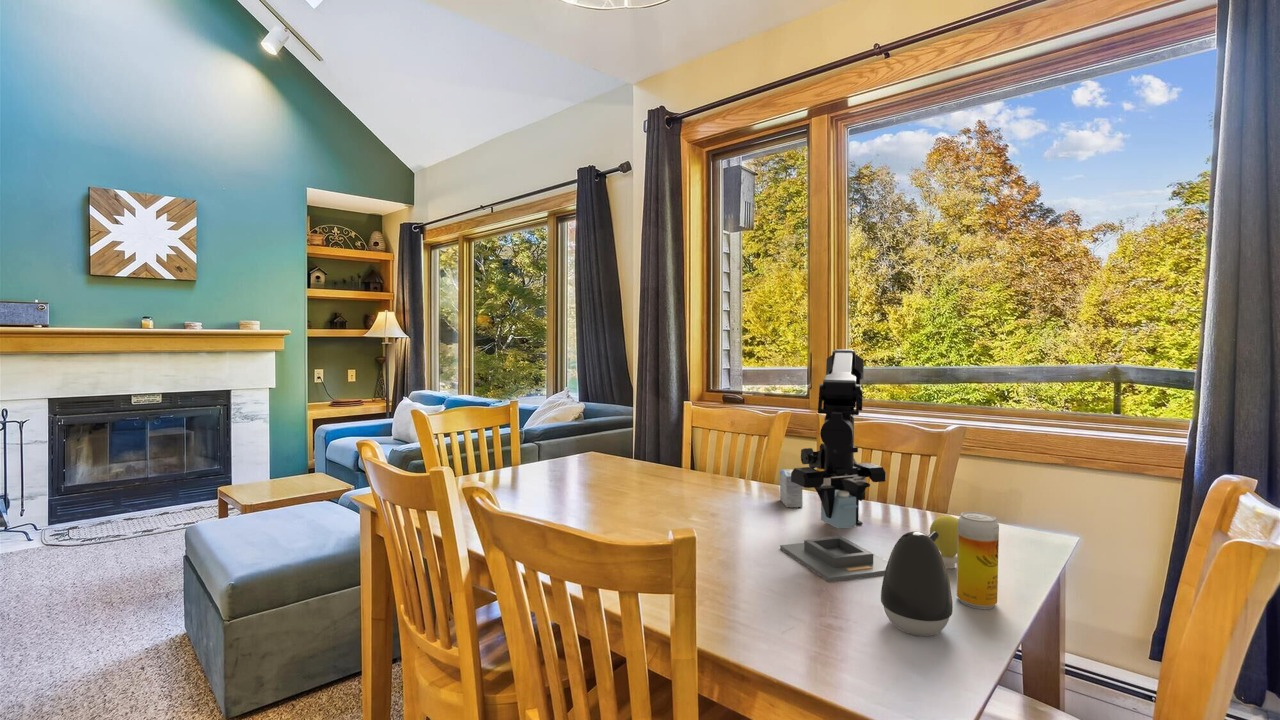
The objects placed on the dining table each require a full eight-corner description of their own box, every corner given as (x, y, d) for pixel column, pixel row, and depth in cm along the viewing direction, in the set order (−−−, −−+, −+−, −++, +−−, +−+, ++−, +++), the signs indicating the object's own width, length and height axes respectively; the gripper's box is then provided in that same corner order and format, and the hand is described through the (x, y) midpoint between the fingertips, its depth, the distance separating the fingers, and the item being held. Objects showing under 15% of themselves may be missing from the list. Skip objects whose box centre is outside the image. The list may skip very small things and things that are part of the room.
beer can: (996, 614, 99) (998, 523, 98) (955, 605, 102) (956, 517, 101) (997, 600, 104) (999, 514, 103) (957, 592, 107) (959, 508, 106)
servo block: (834, 516, 127) (834, 484, 126) (859, 528, 119) (860, 494, 118) (817, 518, 125) (818, 485, 125) (841, 530, 117) (842, 496, 117)
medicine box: (802, 508, 159) (803, 475, 159) (785, 508, 159) (786, 475, 159) (795, 500, 167) (795, 469, 167) (779, 500, 167) (779, 469, 167)
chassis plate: (844, 541, 133) (845, 529, 133) (901, 572, 116) (901, 558, 116) (780, 548, 129) (780, 536, 129) (828, 582, 111) (828, 567, 111)
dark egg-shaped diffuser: (966, 632, 93) (968, 535, 92) (927, 651, 87) (929, 548, 86) (905, 607, 101) (907, 518, 100) (866, 623, 95) (868, 529, 95)
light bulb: (965, 563, 121) (966, 513, 120) (968, 575, 114) (969, 523, 114) (928, 558, 123) (929, 509, 123) (929, 569, 117) (930, 519, 117)
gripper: (854, 432, 132) (853, 502, 132) (777, 436, 126) (777, 509, 127) (888, 440, 121) (887, 517, 122) (806, 445, 116) (805, 525, 116)
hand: (838, 516), depth 122 cm, fingers closed on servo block, 4 cm apart
